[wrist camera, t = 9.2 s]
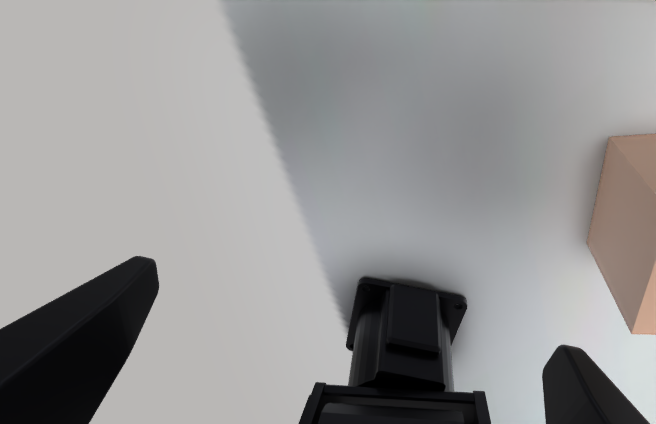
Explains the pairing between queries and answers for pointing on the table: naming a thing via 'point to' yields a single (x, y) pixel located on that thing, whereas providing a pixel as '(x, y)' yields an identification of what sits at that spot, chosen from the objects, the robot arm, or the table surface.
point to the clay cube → (628, 228)
